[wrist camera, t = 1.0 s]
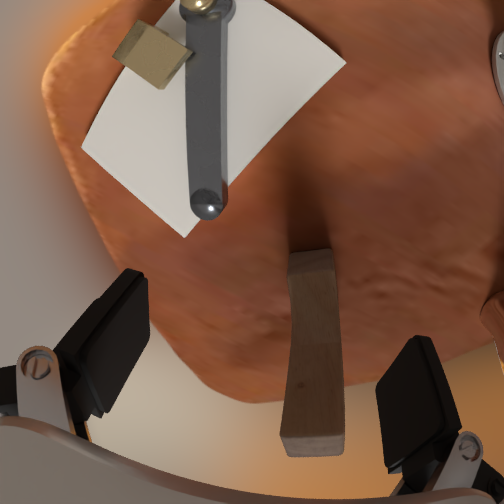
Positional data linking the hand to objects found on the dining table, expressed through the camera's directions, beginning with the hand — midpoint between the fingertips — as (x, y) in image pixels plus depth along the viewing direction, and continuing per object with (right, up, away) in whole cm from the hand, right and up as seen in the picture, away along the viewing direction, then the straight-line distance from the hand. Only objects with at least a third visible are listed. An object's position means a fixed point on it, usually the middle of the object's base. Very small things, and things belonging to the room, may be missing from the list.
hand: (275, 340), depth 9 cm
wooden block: (+6, -1, +22) cm, 23 cm away
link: (-4, +16, +13) cm, 21 cm away
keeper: (-7, +22, +11) cm, 25 cm away
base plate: (-6, +17, +15) cm, 24 cm away
